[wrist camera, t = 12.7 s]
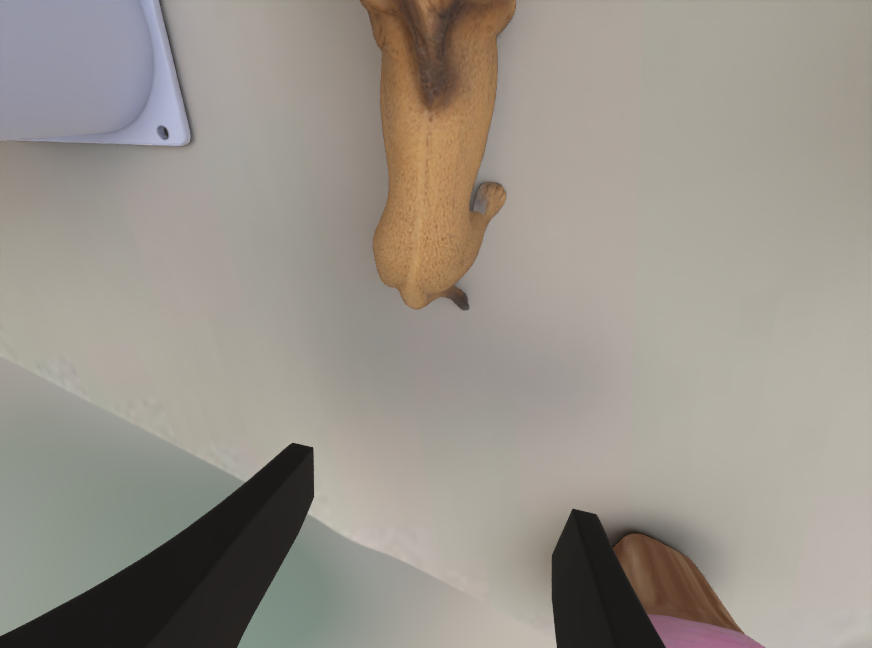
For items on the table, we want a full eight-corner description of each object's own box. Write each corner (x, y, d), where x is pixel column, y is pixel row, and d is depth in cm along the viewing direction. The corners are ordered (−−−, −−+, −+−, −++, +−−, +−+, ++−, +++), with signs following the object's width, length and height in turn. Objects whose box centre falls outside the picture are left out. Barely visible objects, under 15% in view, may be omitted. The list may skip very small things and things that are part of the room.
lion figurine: (342, -122, 13) (71, -471, 5) (516, -171, 12) (513, -714, 4) (413, 306, 19) (343, 442, 12) (530, 301, 18) (540, 448, 10)
